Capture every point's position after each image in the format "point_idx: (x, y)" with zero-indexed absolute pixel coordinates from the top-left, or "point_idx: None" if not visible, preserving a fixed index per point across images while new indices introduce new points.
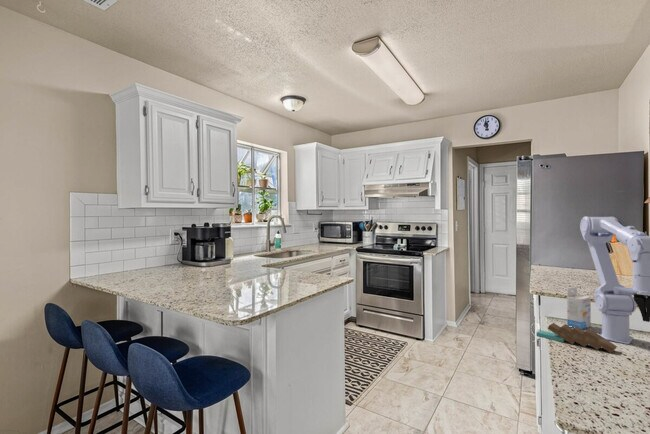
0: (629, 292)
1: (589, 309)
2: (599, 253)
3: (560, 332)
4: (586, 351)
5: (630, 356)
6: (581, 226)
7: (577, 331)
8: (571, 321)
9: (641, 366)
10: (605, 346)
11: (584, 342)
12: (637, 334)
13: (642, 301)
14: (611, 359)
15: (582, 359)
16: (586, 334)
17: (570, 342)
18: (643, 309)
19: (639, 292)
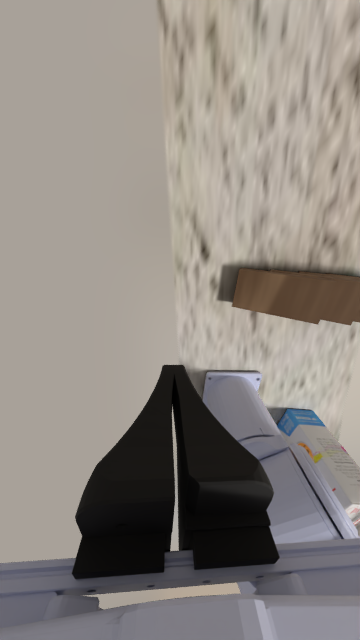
0: (317, 584)
1: None
2: None
3: None
4: (299, 231)
5: (201, 279)
6: None
7: (353, 280)
8: (315, 422)
9: (175, 198)
10: (260, 271)
11: (308, 273)
12: None
13: (197, 456)
14: (243, 202)
15: (324, 111)
16: (324, 278)
17: (334, 274)
18: (185, 405)
19: (270, 632)
